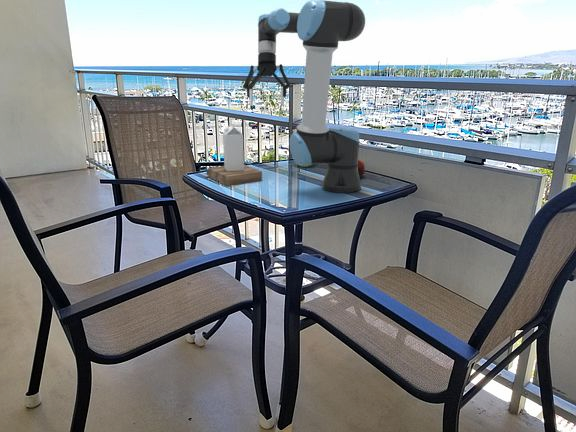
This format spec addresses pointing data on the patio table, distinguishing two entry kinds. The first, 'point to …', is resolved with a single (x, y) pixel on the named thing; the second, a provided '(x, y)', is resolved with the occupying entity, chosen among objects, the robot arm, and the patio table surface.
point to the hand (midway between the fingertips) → (266, 105)
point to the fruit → (361, 167)
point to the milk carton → (233, 149)
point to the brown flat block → (234, 175)
